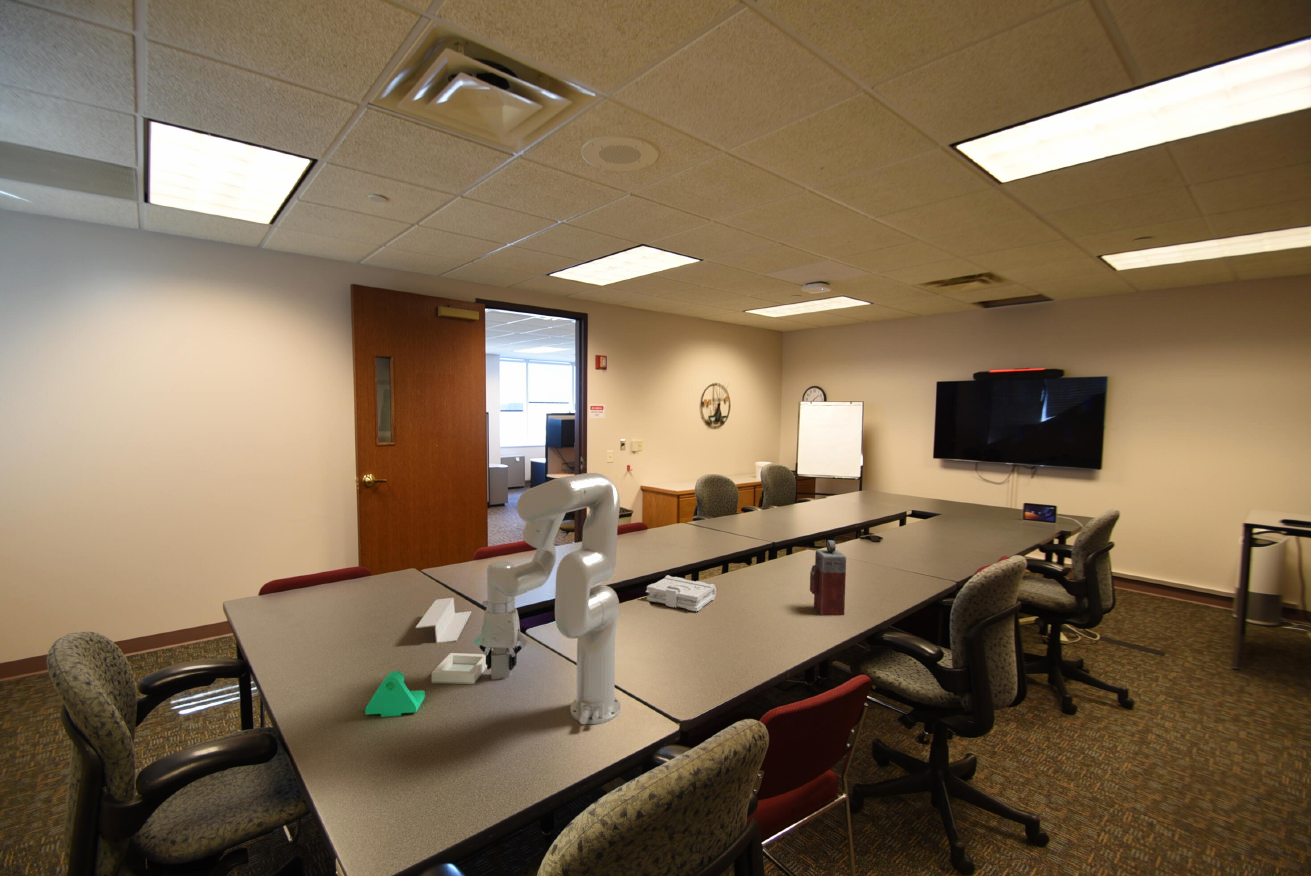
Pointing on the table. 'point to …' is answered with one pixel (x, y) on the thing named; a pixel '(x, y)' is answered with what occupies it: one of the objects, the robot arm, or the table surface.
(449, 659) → the tray
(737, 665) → the table surface
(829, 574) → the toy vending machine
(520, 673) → the table surface
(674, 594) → the book
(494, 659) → the power adapter
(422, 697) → the camera mount
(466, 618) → the z bracket
